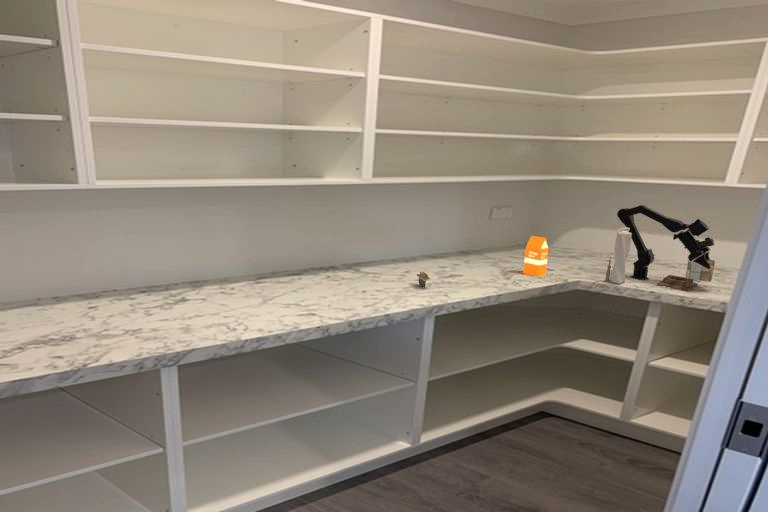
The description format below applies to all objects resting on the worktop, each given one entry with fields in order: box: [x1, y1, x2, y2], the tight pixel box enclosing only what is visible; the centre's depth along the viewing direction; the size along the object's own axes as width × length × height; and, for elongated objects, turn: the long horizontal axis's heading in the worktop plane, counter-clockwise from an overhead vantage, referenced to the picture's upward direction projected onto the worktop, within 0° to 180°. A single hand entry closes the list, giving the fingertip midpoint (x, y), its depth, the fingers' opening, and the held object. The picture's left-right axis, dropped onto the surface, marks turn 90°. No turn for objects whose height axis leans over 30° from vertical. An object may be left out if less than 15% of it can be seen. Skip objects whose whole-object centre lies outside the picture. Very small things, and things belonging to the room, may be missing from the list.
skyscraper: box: [604, 227, 632, 285], centre depth 250 cm, size 8×8×28 cm
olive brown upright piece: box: [415, 271, 431, 289], centre depth 231 cm, size 12×18×7 cm, turn 17°
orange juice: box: [523, 235, 549, 277], centre depth 262 cm, size 8×9×20 cm
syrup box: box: [685, 252, 702, 282], centre depth 263 cm, size 6×6×14 cm
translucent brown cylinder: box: [699, 259, 716, 282], centre depth 242 cm, size 5×5×10 cm
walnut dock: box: [656, 274, 699, 292], centre depth 252 cm, size 14×18×4 cm
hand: (711, 267), depth 241 cm, fingers closed on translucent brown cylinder, 5 cm apart
